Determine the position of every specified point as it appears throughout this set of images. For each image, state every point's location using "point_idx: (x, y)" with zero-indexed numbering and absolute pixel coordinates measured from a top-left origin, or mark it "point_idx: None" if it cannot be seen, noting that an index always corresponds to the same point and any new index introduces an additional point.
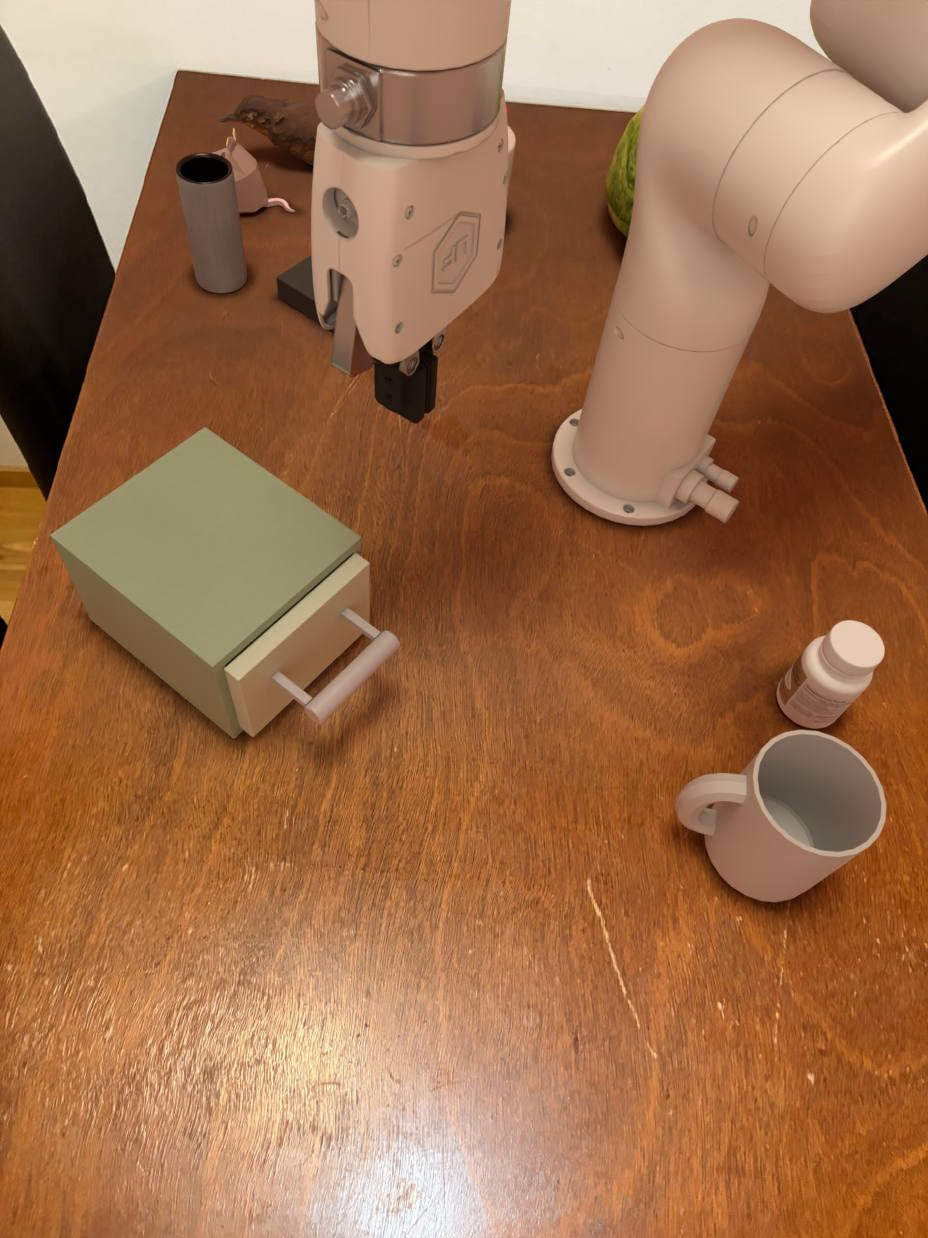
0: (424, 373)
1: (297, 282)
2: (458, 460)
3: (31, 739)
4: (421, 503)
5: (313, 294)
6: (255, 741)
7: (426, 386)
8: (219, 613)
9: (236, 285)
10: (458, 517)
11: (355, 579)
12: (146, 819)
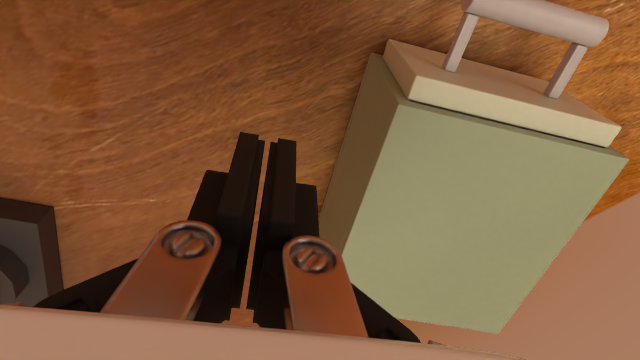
0: (279, 212)
1: None
2: (106, 56)
3: None
4: (194, 66)
5: (40, 289)
6: (536, 77)
7: (258, 179)
8: (557, 187)
9: None
10: (184, 16)
11: (441, 79)
12: (622, 118)
